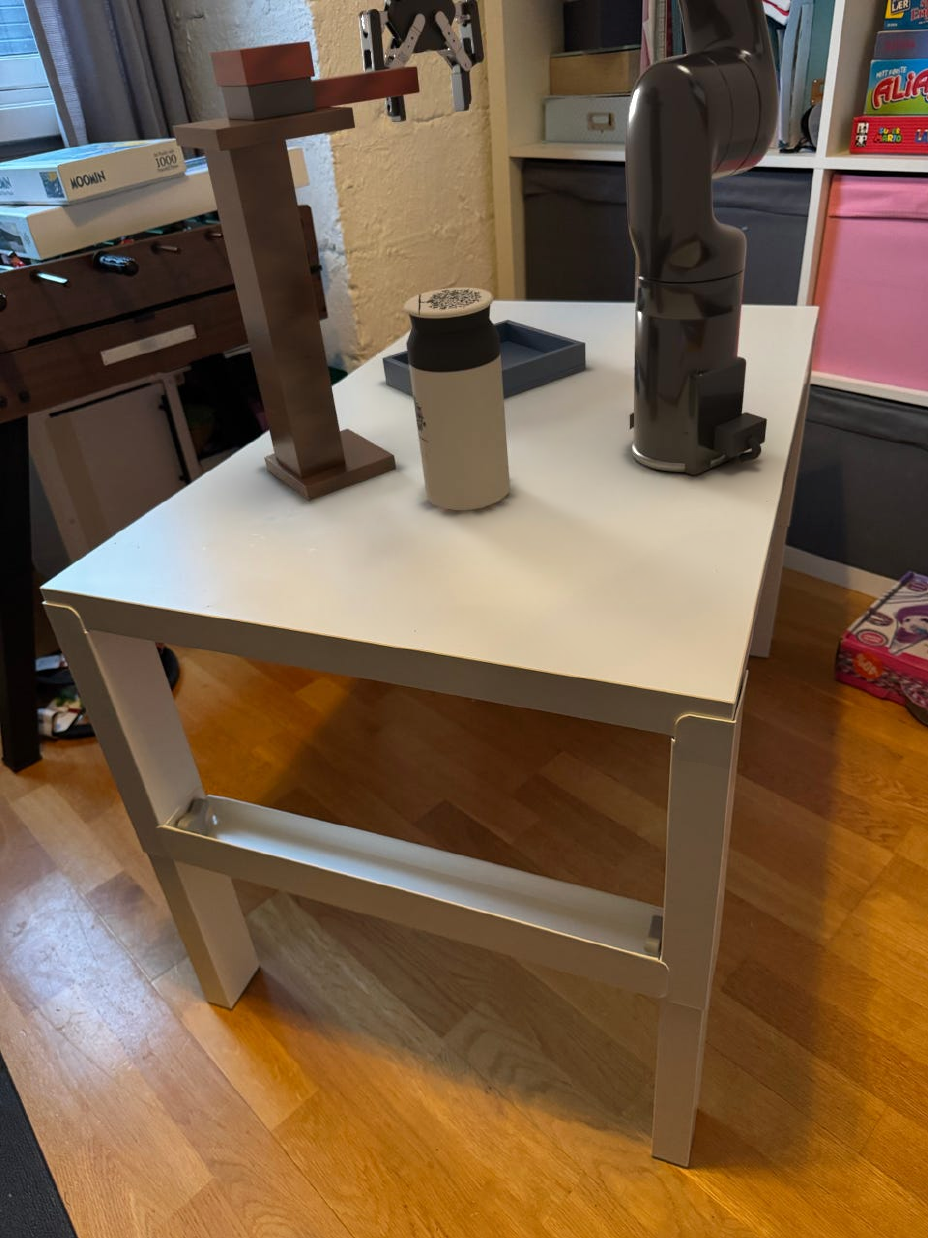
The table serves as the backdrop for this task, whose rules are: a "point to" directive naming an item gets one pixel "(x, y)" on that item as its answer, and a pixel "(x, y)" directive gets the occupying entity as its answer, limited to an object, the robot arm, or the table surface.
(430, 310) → the travel mug
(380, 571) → the table surface
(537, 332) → the tray
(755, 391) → the table surface
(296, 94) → the brush
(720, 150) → the robot arm
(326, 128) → the wooden pedestal stand
